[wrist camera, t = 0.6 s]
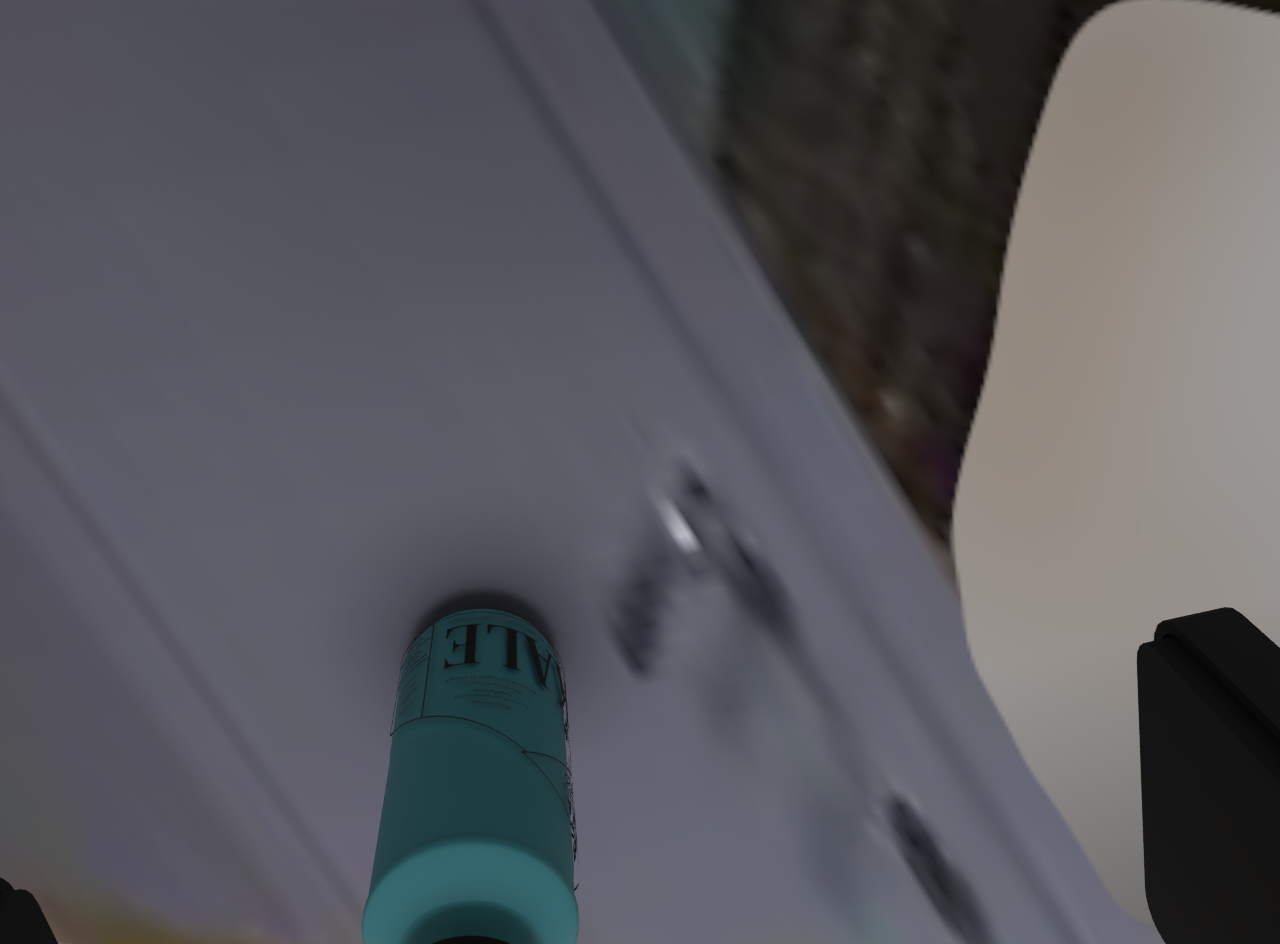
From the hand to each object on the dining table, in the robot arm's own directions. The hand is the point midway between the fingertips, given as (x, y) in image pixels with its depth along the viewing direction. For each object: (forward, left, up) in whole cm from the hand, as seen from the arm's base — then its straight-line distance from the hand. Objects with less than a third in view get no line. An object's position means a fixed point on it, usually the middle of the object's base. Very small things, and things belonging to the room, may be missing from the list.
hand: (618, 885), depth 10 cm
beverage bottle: (+17, -7, -35) cm, 40 cm away
